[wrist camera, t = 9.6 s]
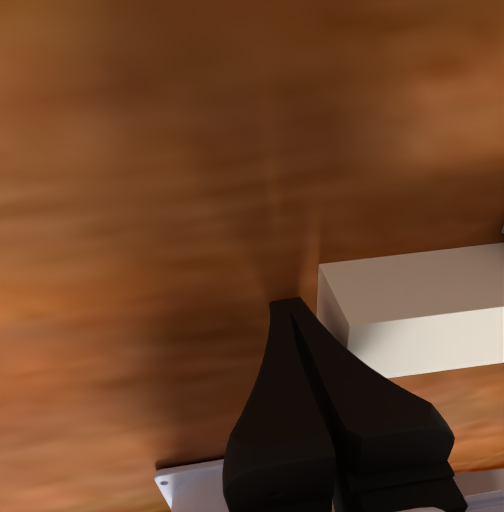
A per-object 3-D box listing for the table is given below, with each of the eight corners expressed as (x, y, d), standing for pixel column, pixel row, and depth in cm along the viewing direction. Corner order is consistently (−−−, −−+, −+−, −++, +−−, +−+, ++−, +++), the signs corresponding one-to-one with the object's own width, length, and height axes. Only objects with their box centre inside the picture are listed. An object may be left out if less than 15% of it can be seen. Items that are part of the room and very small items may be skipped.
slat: (551, 283, 16) (640, 344, 13) (315, 313, 16) (343, 383, 12) (578, 230, 15) (688, 283, 11) (317, 261, 14) (349, 325, 11)
